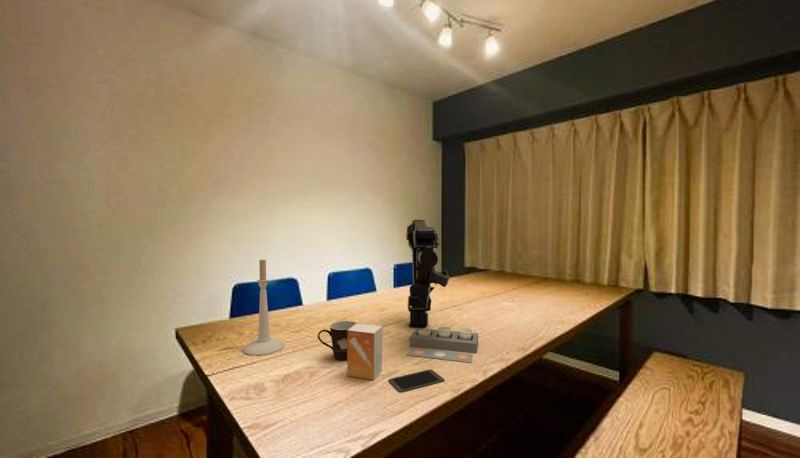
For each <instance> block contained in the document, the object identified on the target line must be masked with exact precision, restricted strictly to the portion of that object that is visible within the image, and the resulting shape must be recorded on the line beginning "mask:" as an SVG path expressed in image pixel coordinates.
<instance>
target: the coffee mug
mask: <svg viewBox="0 0 800 458" xmlns="http://www.w3.org/2000/svg"><path fill="white" fill-rule="evenodd" d="M355 324H358V323H357V322H356V321H352V320H339V321H336V322H332V323H331V324H330V325H329V328H330V329H329V330H328V329H321V330H319V332H318V333H317V339H318V340H319V342H321V343H322V344H323V345H324V346H326V347H327V348H329V349H331V350H332V353H333V359H334V360H336V361H338V362H347V350H348V348H347V343H348V330H349V329H350V328H351V327H352V326H354V325H355ZM323 332H324V333H327V334H329V336H330V338H331V345H330V344H328V343H326V342H325V341H323V340H322V339H321V337H320V335H321V333H323Z"/></svg>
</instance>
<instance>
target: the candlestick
mask: <svg viewBox="0 0 800 458" xmlns="http://www.w3.org/2000/svg"><path fill="white" fill-rule="evenodd" d="M258 262H259V265H258V266H259V279H257V280H256V281H257V282H258V286H259V289H260V291H259V311H258V312H259V315H258V335H257V336H258V337H257V339H256V340H253V341H250V342H249V343H247V344H246V345H245V346H244V347H243V349H242V350H243V351H242V352H244V353H246V354H248V355H247V356H249V355H265V356H268V355H267V354H270V355H273V354H272V353H274V354H276V353H275V352H277V353H279V352H280V350H281V351H283V349H284V348H285V347H284V346H285V345H286V344H285V342H284V341H283V340H281V339H280V338H275V337H271V336H270V334H271V333H270V322H269V321H270V320H269V308H268V295H267V294H268V293H267V286H268V281H270V280H269V279H268V278H267V260H266V259H259V261H258ZM278 351H279V352H278ZM244 353H243V354H244ZM246 354H245V355H246Z"/></svg>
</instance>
